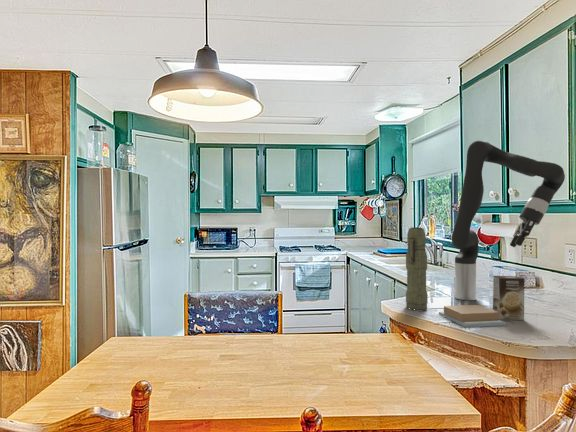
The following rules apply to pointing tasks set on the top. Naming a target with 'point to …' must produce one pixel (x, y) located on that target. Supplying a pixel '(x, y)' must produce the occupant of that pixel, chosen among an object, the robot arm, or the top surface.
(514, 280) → the coffee box
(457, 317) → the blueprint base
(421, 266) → the thermos
